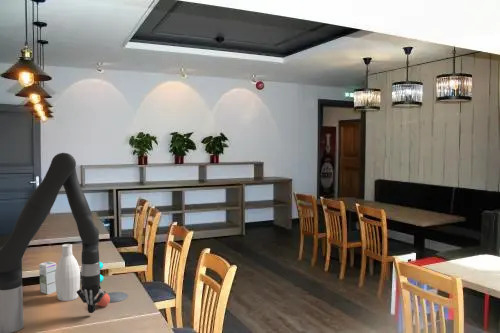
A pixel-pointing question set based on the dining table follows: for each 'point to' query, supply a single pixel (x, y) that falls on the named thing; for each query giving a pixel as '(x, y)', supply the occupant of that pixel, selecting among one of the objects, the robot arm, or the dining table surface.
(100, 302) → the ball
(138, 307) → the dining table surface
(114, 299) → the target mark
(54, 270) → the syrup box
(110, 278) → the dining table surface
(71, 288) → the bottle
